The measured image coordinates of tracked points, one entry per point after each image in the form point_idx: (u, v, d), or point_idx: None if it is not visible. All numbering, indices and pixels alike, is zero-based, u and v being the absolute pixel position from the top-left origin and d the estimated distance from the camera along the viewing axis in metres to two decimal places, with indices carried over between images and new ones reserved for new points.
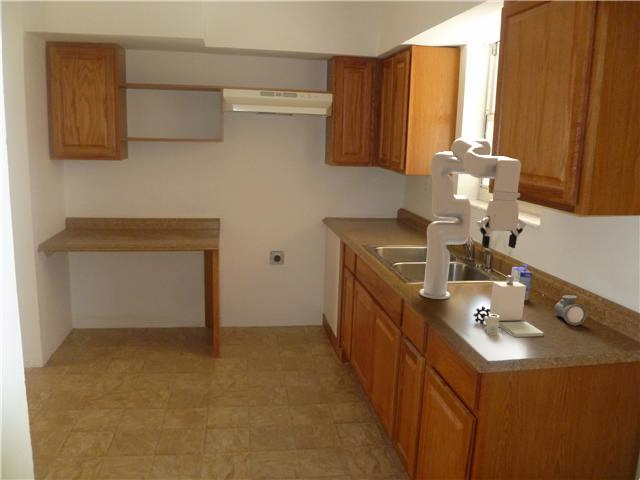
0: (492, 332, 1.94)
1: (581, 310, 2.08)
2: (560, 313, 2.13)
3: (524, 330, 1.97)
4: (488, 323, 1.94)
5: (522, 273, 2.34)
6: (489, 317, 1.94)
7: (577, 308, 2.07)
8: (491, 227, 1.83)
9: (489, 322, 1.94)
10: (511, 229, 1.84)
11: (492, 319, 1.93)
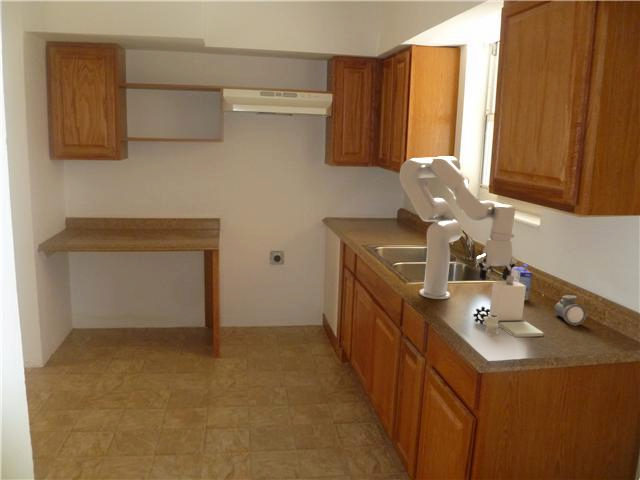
0: (491, 333, 1.93)
1: (581, 310, 2.08)
2: (560, 313, 2.13)
3: (524, 330, 1.97)
4: (487, 323, 1.94)
5: (522, 273, 2.34)
6: (488, 317, 1.94)
7: (577, 308, 2.07)
8: (488, 263, 2.13)
9: (488, 322, 1.93)
10: (505, 265, 2.15)
11: (491, 319, 1.93)
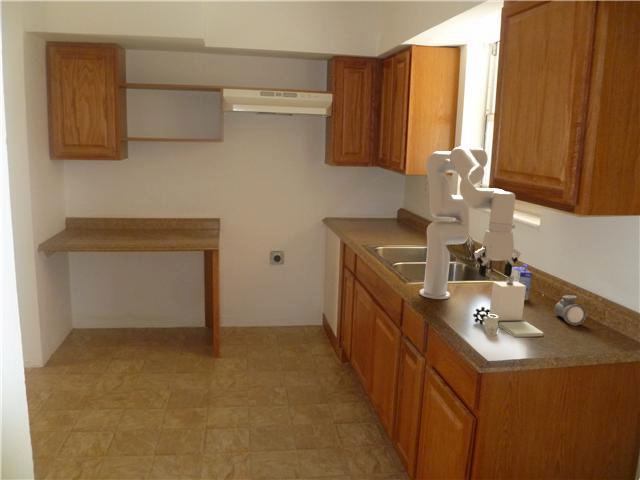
0: (491, 333, 1.93)
1: (581, 310, 2.08)
2: (560, 313, 2.13)
3: (524, 330, 1.97)
4: (487, 323, 1.94)
5: (522, 273, 2.34)
6: (488, 317, 1.94)
7: (577, 308, 2.07)
8: (487, 257, 1.91)
9: (488, 322, 1.93)
10: (507, 259, 1.92)
11: (491, 319, 1.93)
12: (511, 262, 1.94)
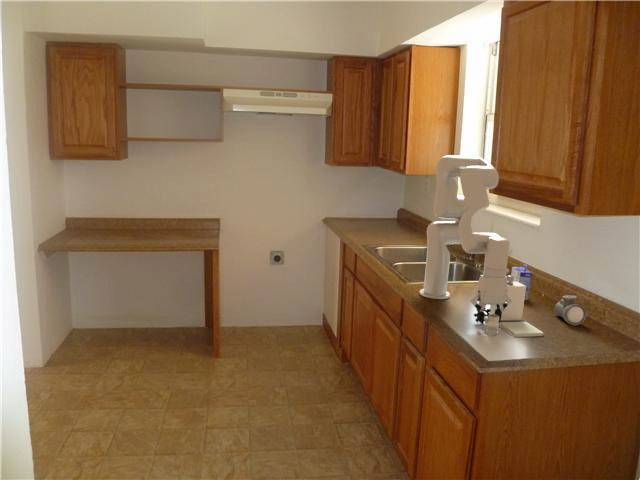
0: (492, 333, 1.93)
1: (581, 310, 2.08)
2: (560, 313, 2.13)
3: (524, 330, 1.97)
4: (488, 323, 1.94)
5: (522, 273, 2.34)
6: (489, 317, 1.94)
7: (577, 308, 2.07)
8: (482, 301, 1.94)
9: (489, 322, 1.93)
10: (500, 303, 1.96)
11: (492, 319, 1.92)
12: (501, 308, 1.97)
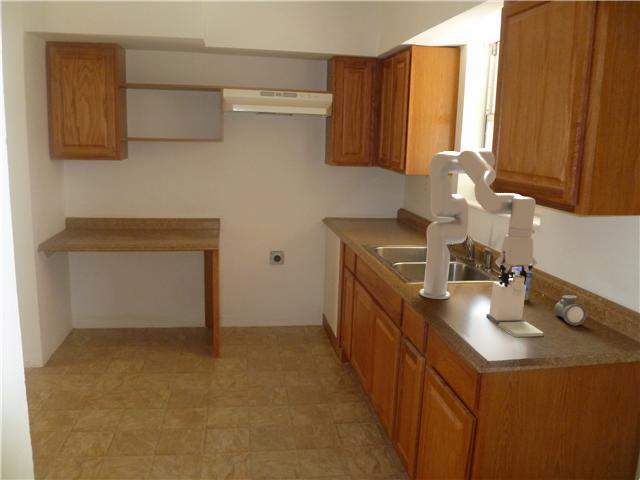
0: (517, 293, 1.90)
1: (581, 310, 2.08)
2: (560, 313, 2.13)
3: (524, 330, 1.97)
4: (512, 284, 1.91)
5: None
6: (514, 278, 1.91)
7: (577, 308, 2.07)
8: (506, 262, 1.91)
9: (514, 283, 1.90)
10: (526, 264, 1.93)
11: (517, 280, 1.90)
12: (526, 269, 1.94)
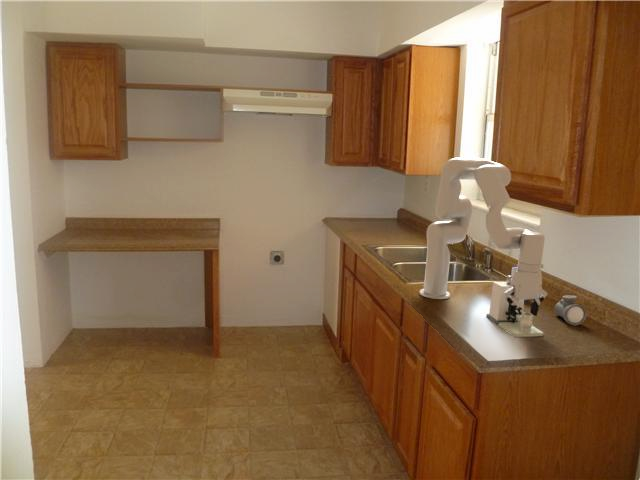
0: (525, 331, 1.93)
1: (581, 310, 2.08)
2: (560, 313, 2.13)
3: None
4: (521, 321, 1.94)
5: None
6: (522, 315, 1.94)
7: (577, 308, 2.07)
8: (516, 296, 1.94)
9: (522, 320, 1.93)
10: (535, 298, 1.96)
11: (525, 317, 1.93)
12: (538, 301, 1.97)
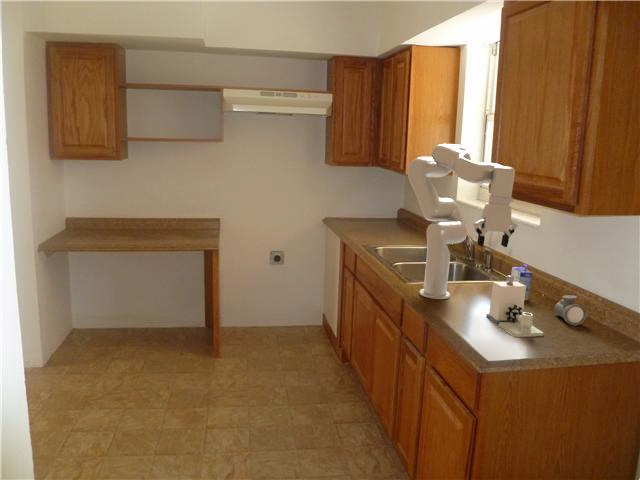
0: (525, 331, 1.93)
1: (581, 310, 2.08)
2: (560, 313, 2.13)
3: None
4: (521, 321, 1.94)
5: (522, 273, 2.34)
6: (522, 315, 1.94)
7: (577, 308, 2.07)
8: (486, 228, 2.02)
9: (522, 320, 1.93)
10: (504, 230, 2.04)
11: (526, 317, 1.93)
12: (508, 233, 2.05)
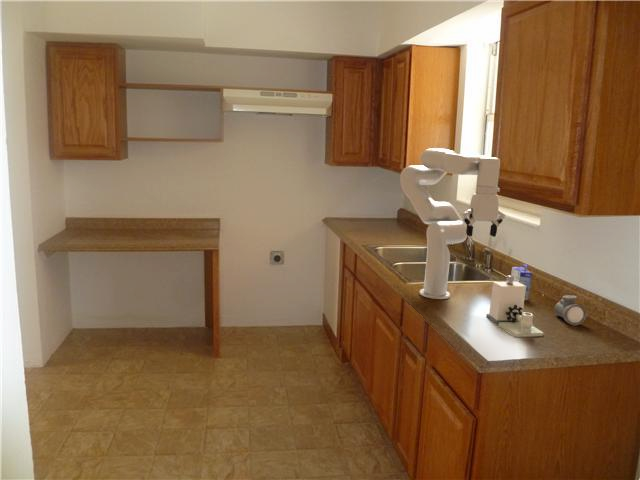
0: (525, 331, 1.93)
1: (581, 310, 2.08)
2: (560, 313, 2.13)
3: None
4: (521, 321, 1.94)
5: (522, 273, 2.34)
6: (522, 315, 1.94)
7: (577, 308, 2.07)
8: (474, 218, 2.06)
9: (523, 320, 1.93)
10: (492, 220, 2.08)
11: (526, 317, 1.93)
12: (496, 223, 2.09)
